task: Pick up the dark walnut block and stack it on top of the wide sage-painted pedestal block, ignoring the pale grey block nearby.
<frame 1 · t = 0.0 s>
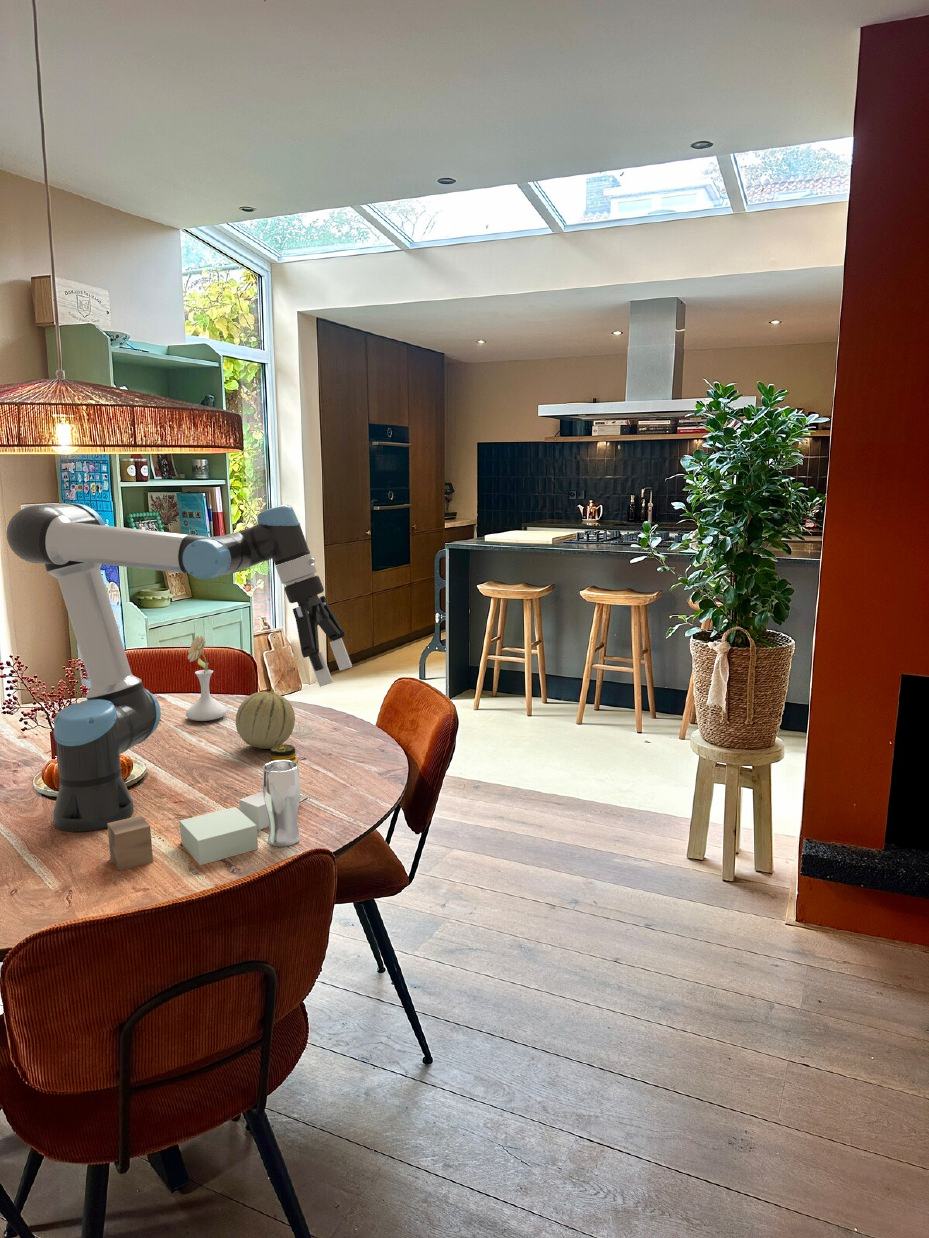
hand: (336, 676, 175), 28 cm above the table, tool tilted 20°, fingers open, 13 cm apart
flower in vase: (207, 719, 241), on the table
walnut block: (131, 860, 155), on the table
condiment: (282, 800, 182), on the table
pedestal block: (219, 847, 160), on the table
beer glass: (284, 840, 162), on the table
grey block: (262, 821, 171), on the table
cantaloupe: (267, 748, 216), on the table
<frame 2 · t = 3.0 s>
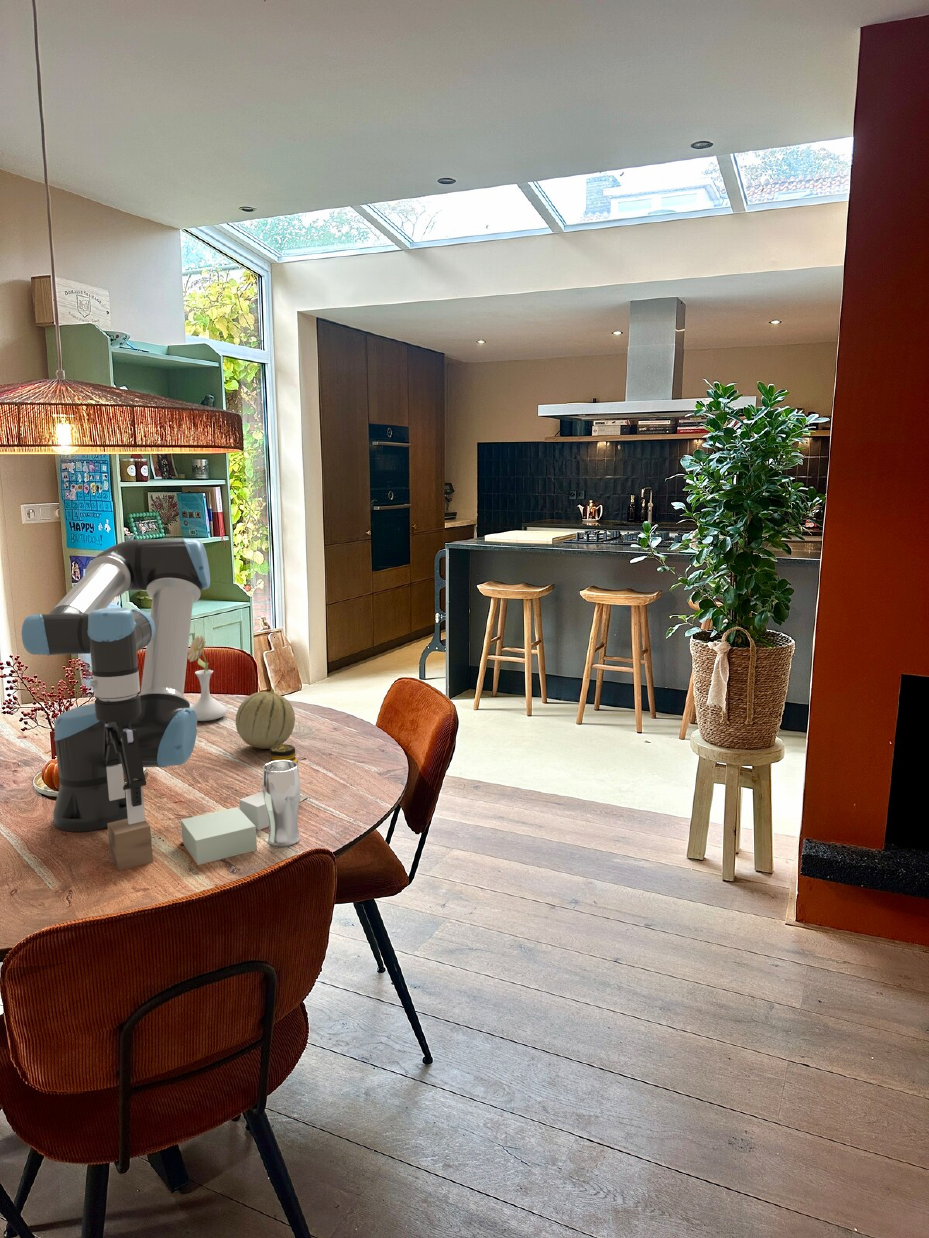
hand: (126, 810, 152), 10 cm above the table, tool pointing down, fingers open, 13 cm apart
nothing on the table moved.
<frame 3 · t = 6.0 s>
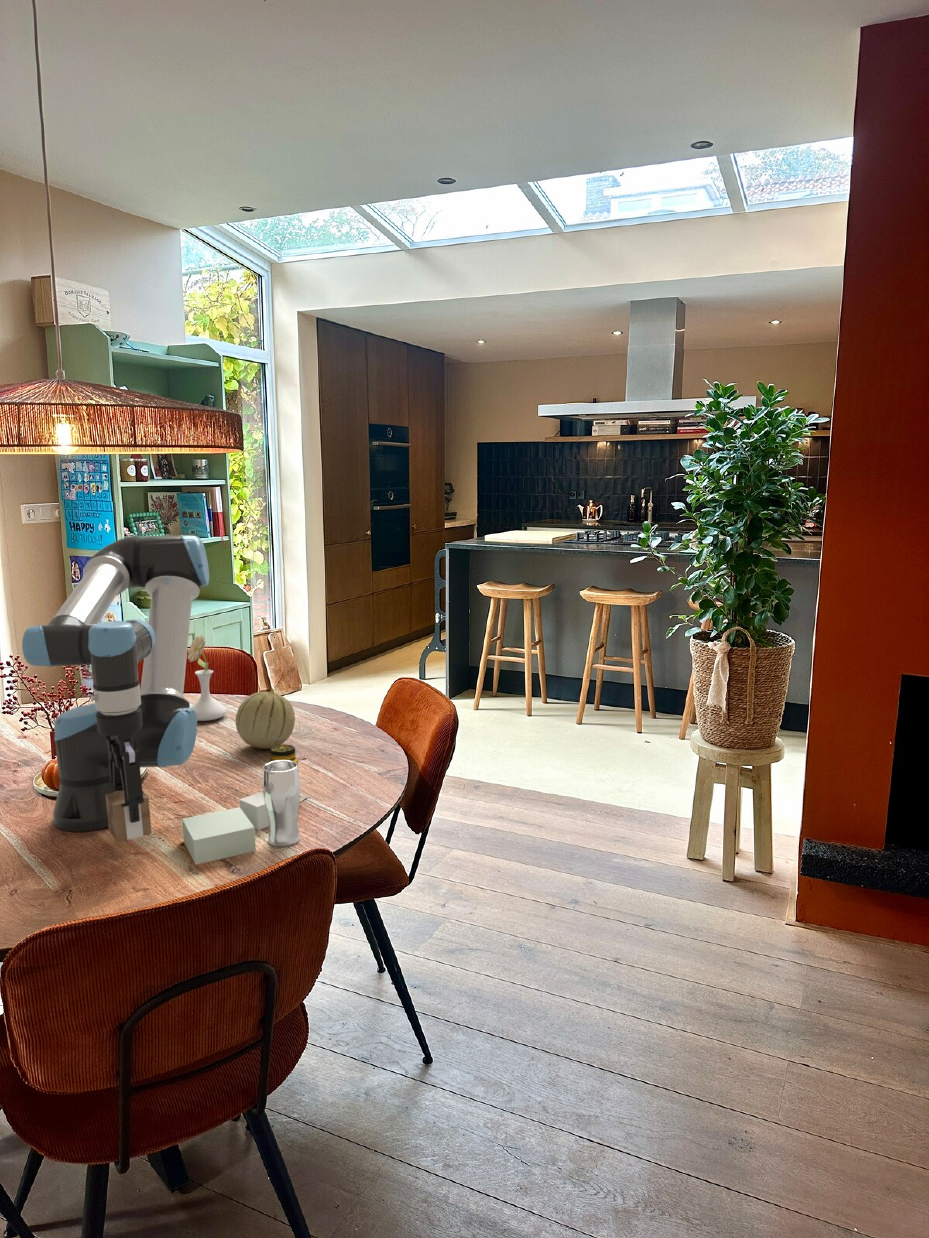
hand: (130, 830, 154), 6 cm above the table, tool pointing down, fingers closed on walnut block, 6 cm apart
walnut block: (130, 831, 154), point 5 cm above the table, touching gripper
everything else where it was.
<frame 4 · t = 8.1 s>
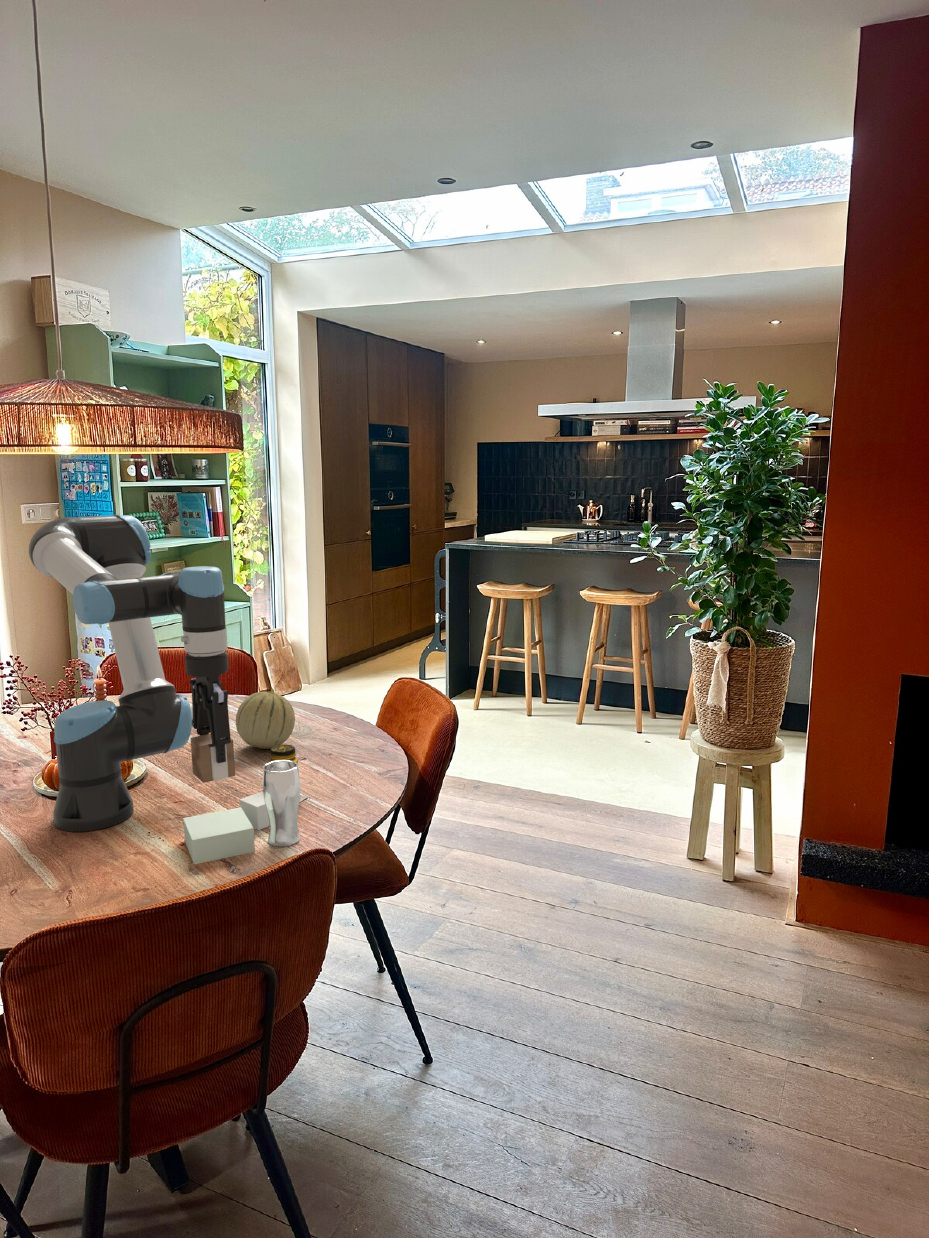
hand: (214, 772, 157), 15 cm above the table, tool pointing down, fingers closed on walnut block, 6 cm apart
walnut block: (214, 774, 157), point 14 cm above the table, touching gripper
everything else where it was.
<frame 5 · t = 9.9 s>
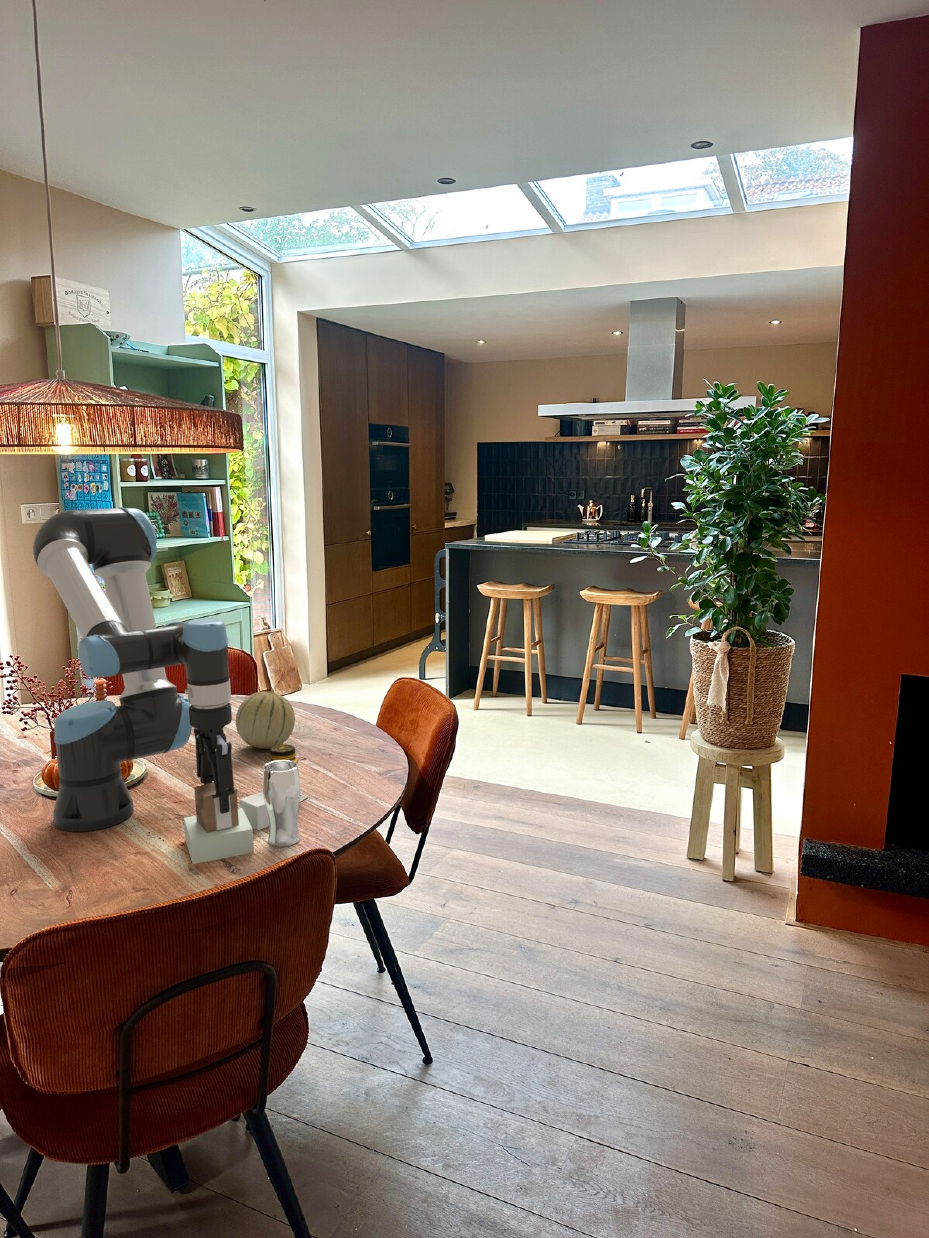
hand: (217, 821, 159), 5 cm above the table, tool pointing down, fingers closed on walnut block, 6 cm apart
walnut block: (217, 823, 159), point 5 cm above the table, touching gripper
everything else where it was.
when the fingers open (5 cm above the table, at t = 10.5 s): walnut block stays where it is, resting on pedestal block.
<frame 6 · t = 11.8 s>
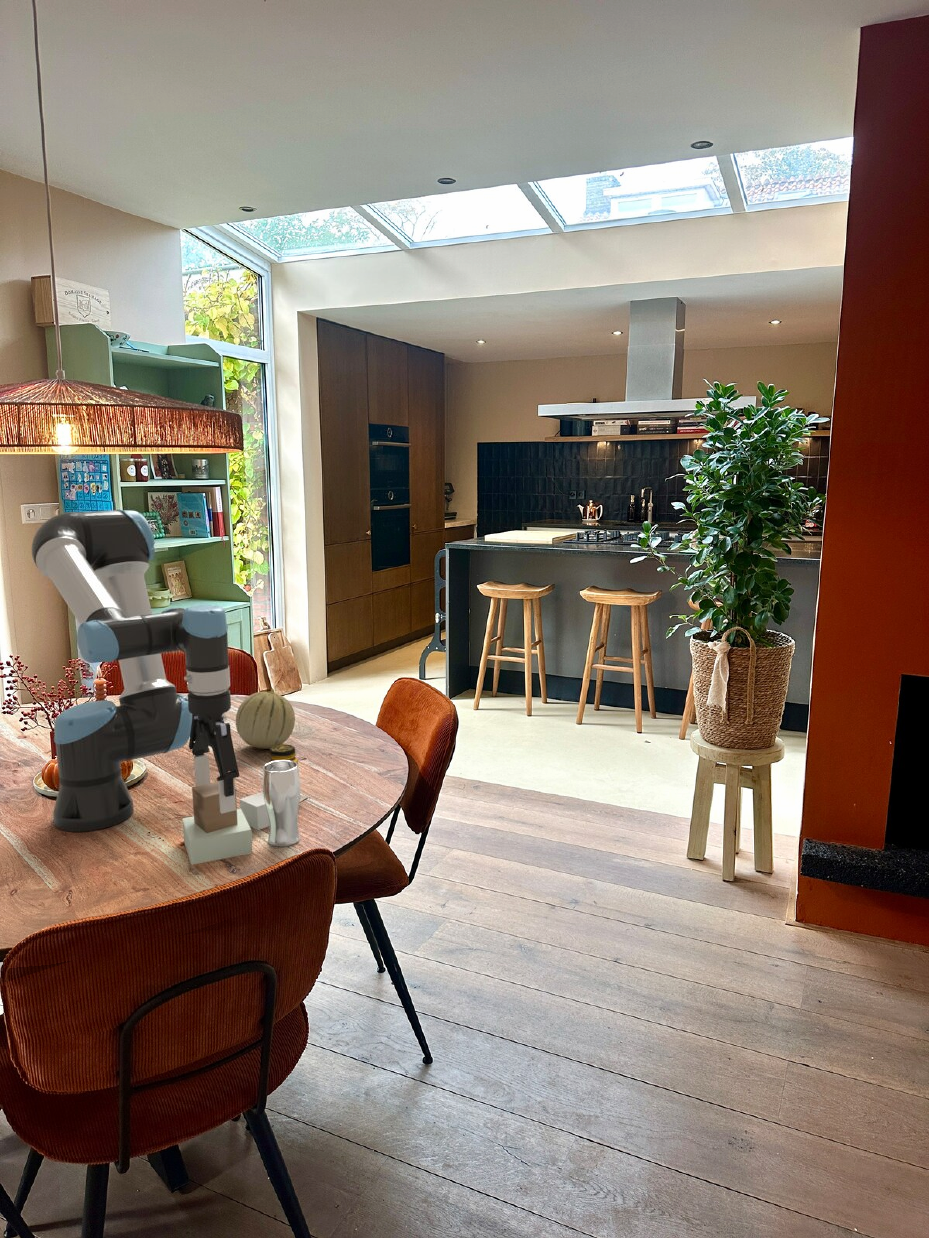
hand: (215, 799, 159), 9 cm above the table, tool pointing down, fingers open, 13 cm apart
walnut block: (215, 823, 159), point 5 cm above the table, touching pedestal block
pedestal block: (217, 848, 160), on the table, touching walnut block
everything else where it was.
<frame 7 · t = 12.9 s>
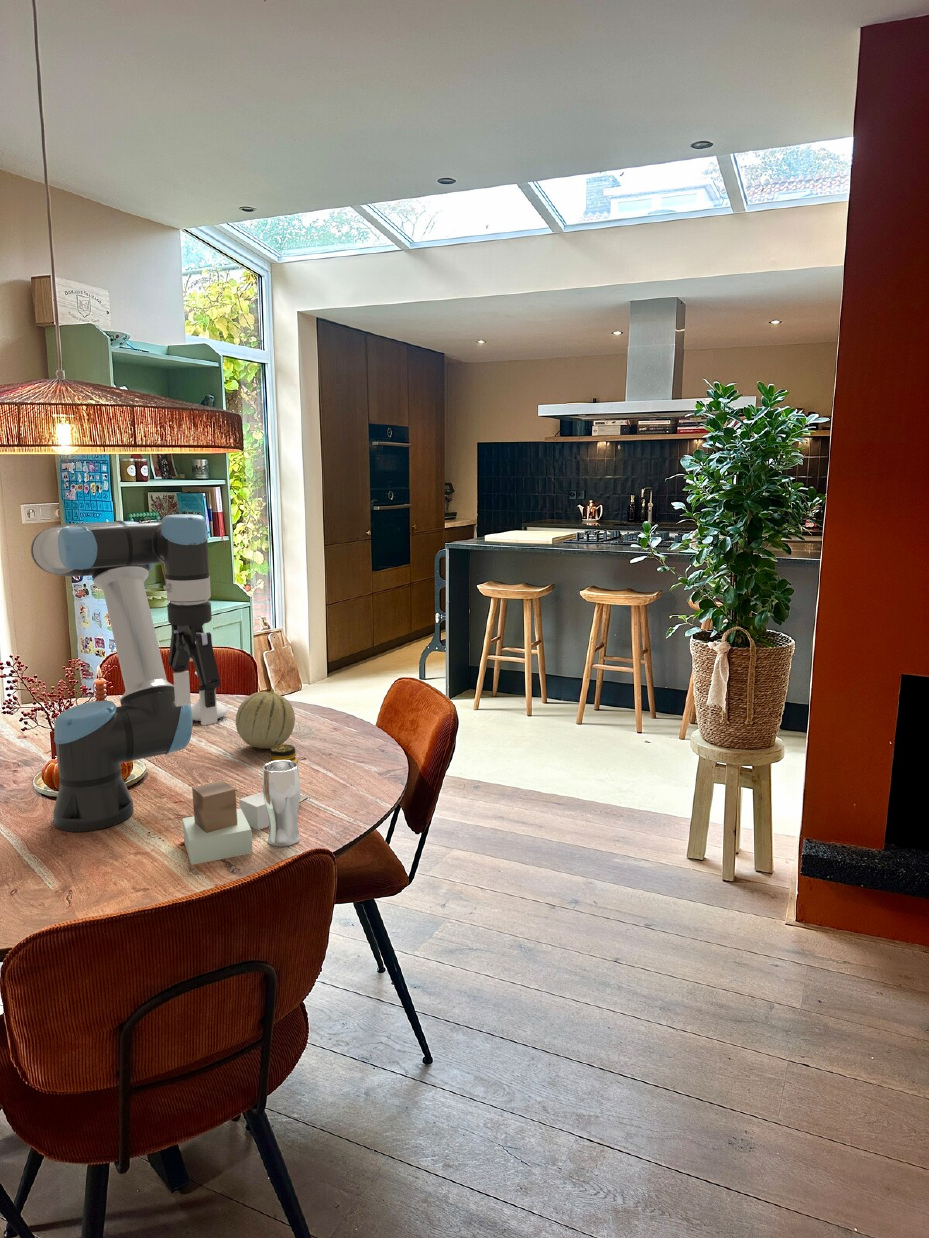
hand: (195, 714, 156), 26 cm above the table, tool pointing down, fingers open, 13 cm apart
walnut block: (215, 823, 159), point 5 cm above the table
pedestal block: (217, 848, 160), on the table
everything else where it was.
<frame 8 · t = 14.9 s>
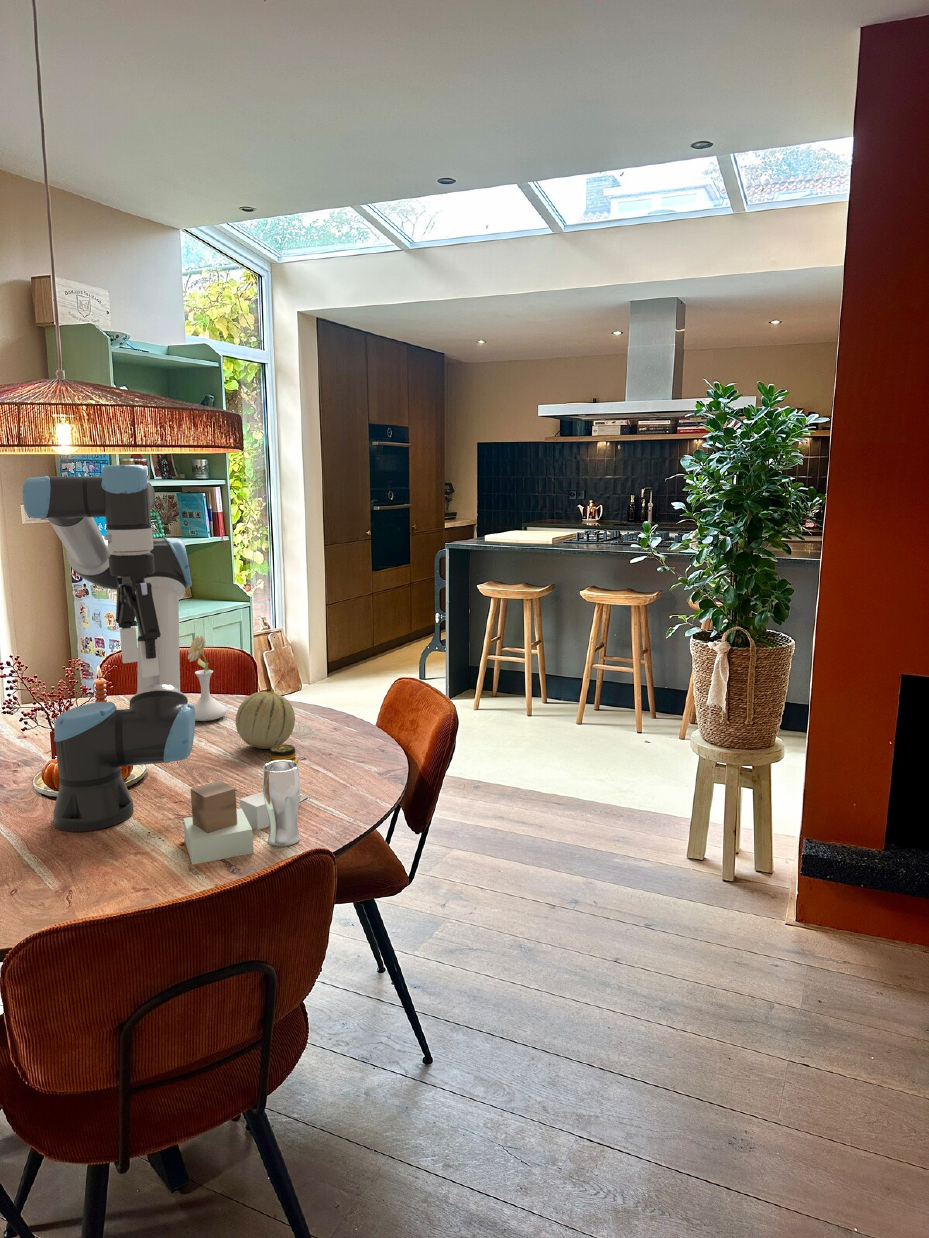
hand: (140, 668, 154), 35 cm above the table, tool pointing down, fingers open, 13 cm apart
walnut block: (215, 823, 159), point 5 cm above the table, touching pedestal block
pedestal block: (218, 848, 160), on the table, touching walnut block
everything else where it was.
at the end: walnut block inside the target area on the pedestal block (0.4 cm from its centre), point 5.0 cm above the pedestal block's base; walnut block tilted 0°; the gripper is holding nothing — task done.
